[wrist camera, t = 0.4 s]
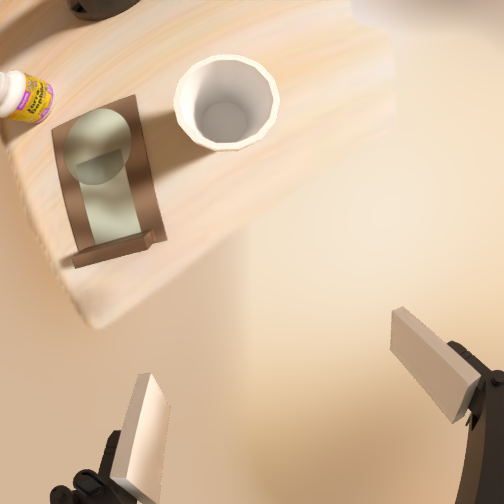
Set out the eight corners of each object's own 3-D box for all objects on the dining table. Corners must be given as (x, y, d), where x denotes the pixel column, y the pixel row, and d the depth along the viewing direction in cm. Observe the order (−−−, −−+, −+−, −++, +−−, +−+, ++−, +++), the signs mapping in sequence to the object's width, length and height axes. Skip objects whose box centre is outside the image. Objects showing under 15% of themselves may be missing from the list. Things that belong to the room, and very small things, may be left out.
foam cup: (189, 159, 36) (173, 152, 23) (188, 93, 33) (174, 58, 21) (261, 156, 36) (281, 148, 24) (259, 91, 34) (278, 55, 21)
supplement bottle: (50, 124, 31) (-2, 114, 19) (22, 123, 30) (-29, 116, 18) (62, 83, 29) (15, 60, 17) (32, 84, 28) (-15, 67, 16)
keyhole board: (53, 129, 31) (34, 125, 26) (135, 95, 32) (123, 84, 27) (84, 261, 37) (68, 273, 32) (167, 239, 38) (159, 249, 33)
